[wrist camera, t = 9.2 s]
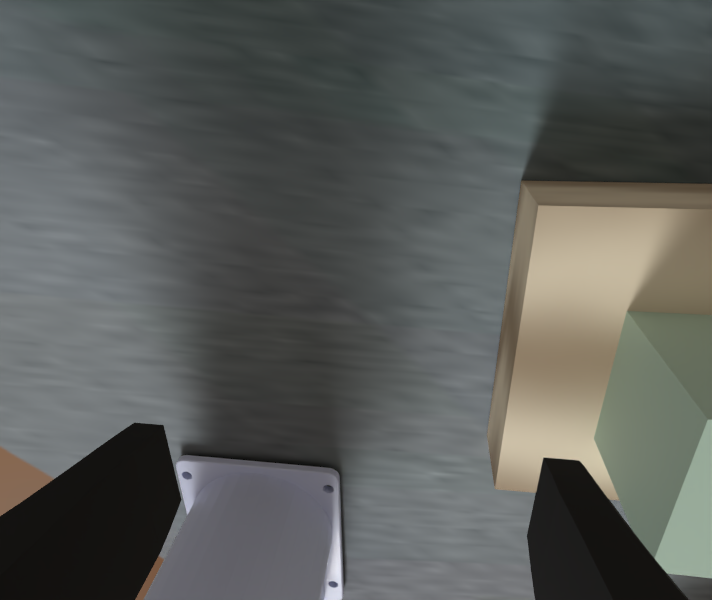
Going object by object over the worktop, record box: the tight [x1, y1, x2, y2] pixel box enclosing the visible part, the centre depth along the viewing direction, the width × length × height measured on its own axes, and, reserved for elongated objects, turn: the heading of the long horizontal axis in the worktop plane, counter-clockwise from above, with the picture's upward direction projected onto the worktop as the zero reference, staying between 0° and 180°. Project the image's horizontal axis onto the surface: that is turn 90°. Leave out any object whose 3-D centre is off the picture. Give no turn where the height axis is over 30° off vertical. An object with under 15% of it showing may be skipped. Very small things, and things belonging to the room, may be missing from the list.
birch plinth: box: [487, 181, 712, 500], centre depth 17 cm, size 11×11×3 cm
